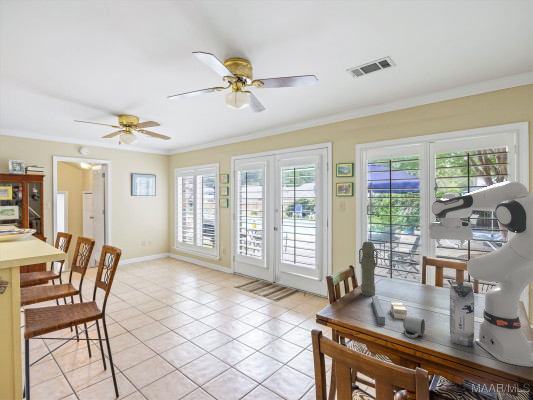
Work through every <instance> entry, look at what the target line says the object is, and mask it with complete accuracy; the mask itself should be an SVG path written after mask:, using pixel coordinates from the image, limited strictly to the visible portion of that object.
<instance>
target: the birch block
mask: <svg viewBox="0 0 533 400" xmlns="http://www.w3.org/2000/svg"><path fill="white" fill-rule="evenodd" d="M390 312H391V314H392V316H393V318H395V319H403V320H404V317H405V316H408V315H407V312H408V311H407V308H406V306H405V305H404V304H403V302H396V301H390Z"/></svg>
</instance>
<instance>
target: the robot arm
mask: <svg viewBox="0 0 533 400" xmlns="http://www.w3.org/2000/svg"><path fill="white" fill-rule="evenodd" d="M474 211H480V212H481V211H482V212H494V215H495V218H496V220H497V222H498V223H499V224H500V225H502V226H503V227H504V228H505V229H507V231H508V232H511V233H514V235H513V236H512V237H510V239H509V240H507V241H506V242H505V243H504V244H503V245H502V246H501V247H499V248H496V249H494V250H492V251H490V252H488V253H485V254H483V255H479V256H476V257H471V258H470V259H469V260H468V261H467V264H466V270H467V271H466V272H467V273H468V275H469V276H470V277H471V279H473V280H476V281H480V282H484V283H485V282H486V283H497V284H496V285H495V286H494V287H492V288H491V289H488V290H486V292H485V294H484V309H483V313H482V314H483V315H482V316H483V320H482V322H481V323H480V324H479V329H478V338H476V339H475V341H474V342H475V343H476V344H478V345H479V346H480V347H481V348H483V349H484V350H485V351H486V352H488V353H489V354H490V355H491V356H493V357H494V358H495V359H497V360H499V361H500V362H503V363H506V364H510V365H515V366H521V367H528V368H529V367H533V351H532V350H533V341H532V340H528V339H527V338H528V337H527V334H526V333H524V332H523V330H522V328H521V327H522V323H521V320H520V317H519V315H518V312H519V301H520V297H521V294H523V292H524V290H525V289H526V288H527V287H528V286H529V285H530V284H532V283H533V193H531V192H529V190H528V189H527V187H526V186H525V184H523V183H521V182H519V181H513V180H511V181H505V182H504V181H503V182H498V183H495V184H492V185H490V186H487V187H483V188H482V189H479V190H475V191H472V192H469V193H465V194H463V195H460V194H459V192H458V193H457V192H445V193H444V194H442V195H441V198H437V199H436V200H435V201H434V202H433V203H432V206H431V212H432V214H433V215H434V216H436V217H437V218H438V219H440V221H439V222H437V221H436V222H435V221H432V222H430V223H429V224H428V229H429V230H428V231H429V232H428V238H429V239H431V240H435V241H436V243H437V246H438V248H443V243H441V242H440V241H441V240H450V241H451V240H452V241H457V240H458V241H460V243H459V244H457V248H458V249H463V246H464V244H465V241H472V240H473V238H474V236H473V235H474V232H473V229H472V228H471V225H472V224H471V222H469V221H465V220H463V219H464V218H465V219H466V218H470V217H471V216H473V214H474V213H475V212H474Z"/></svg>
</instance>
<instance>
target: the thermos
mask: <svg viewBox="0 0 533 400" xmlns="http://www.w3.org/2000/svg"><path fill="white" fill-rule="evenodd" d="M378 253H379V252H378V250H377V249H375V245H374V242H372V241H364V242H363V243H362V247H361V248H360V249H359V250H358V263H359V264H360V268H361V285H360V290H361V292H360V293H362V294H361V295H362V296H364V295H365V296H364V297H372V296H376V284H375V270H376V267H377V266H378V261H379V260H378V259H379V257H378V256H379V254H378ZM361 254H362V256H361Z"/></svg>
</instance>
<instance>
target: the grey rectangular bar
mask: <svg viewBox="0 0 533 400" xmlns="http://www.w3.org/2000/svg"><path fill="white" fill-rule="evenodd" d="M371 297H372V298H371V301H372V302H371V303H372V307H373V309H374V312H375V317H376V319H377V323H378V325H384V326H385V325H386V316H385V312H384V311H383V310H384V309H383V308H382V305H381V302H380V299H379V297H378V295H375V296H371Z"/></svg>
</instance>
